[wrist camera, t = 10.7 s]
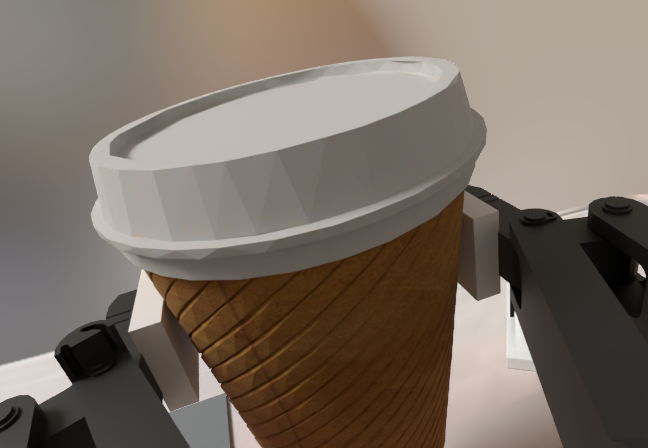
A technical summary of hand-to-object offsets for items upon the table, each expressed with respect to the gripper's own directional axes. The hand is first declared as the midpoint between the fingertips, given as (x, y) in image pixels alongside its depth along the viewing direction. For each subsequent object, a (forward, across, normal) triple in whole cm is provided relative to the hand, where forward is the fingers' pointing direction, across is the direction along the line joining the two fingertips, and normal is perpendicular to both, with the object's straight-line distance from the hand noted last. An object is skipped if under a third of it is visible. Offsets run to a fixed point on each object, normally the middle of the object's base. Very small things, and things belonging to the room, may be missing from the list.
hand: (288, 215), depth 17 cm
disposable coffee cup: (-5, 0, -7) cm, 8 cm away
